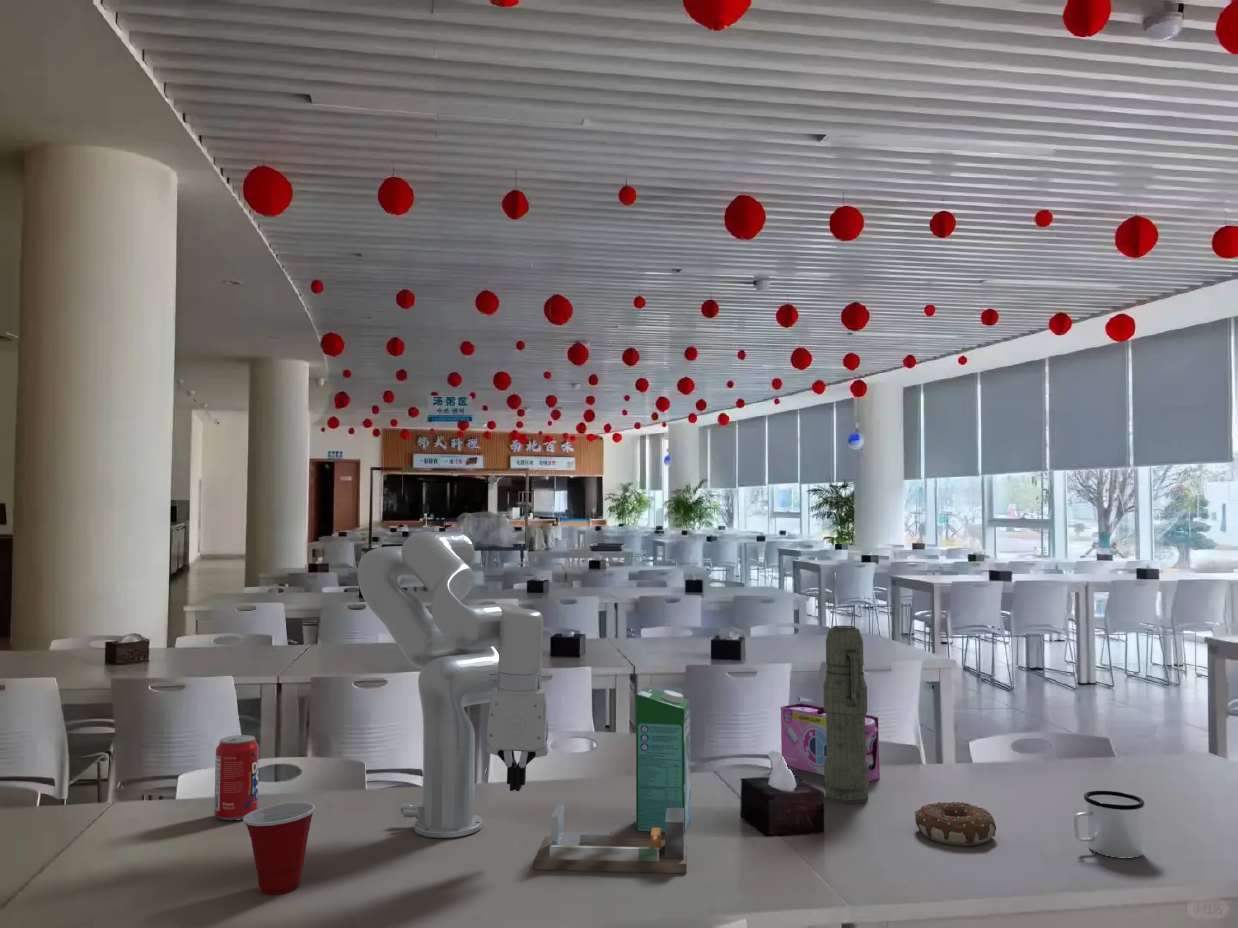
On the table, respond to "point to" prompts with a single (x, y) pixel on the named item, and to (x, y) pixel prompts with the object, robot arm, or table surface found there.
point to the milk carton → (662, 757)
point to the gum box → (819, 739)
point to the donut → (955, 823)
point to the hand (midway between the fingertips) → (515, 788)
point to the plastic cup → (279, 844)
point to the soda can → (236, 777)
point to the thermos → (845, 717)
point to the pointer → (656, 838)
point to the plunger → (572, 838)
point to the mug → (1113, 823)
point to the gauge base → (621, 852)
